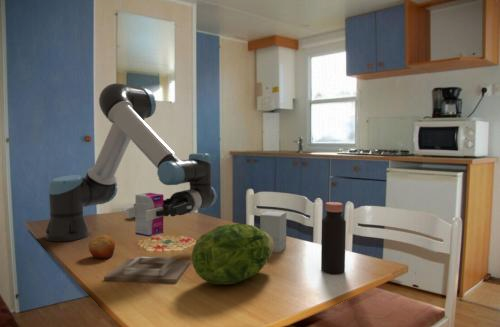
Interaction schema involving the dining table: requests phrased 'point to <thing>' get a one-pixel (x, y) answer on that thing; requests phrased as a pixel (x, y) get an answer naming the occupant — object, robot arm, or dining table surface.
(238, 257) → the lettuce
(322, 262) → the bottle
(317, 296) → the dining table surface
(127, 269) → the socket board
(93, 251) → the fruit
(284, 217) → the supplement box
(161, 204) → the supplement box
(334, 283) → the dining table surface
